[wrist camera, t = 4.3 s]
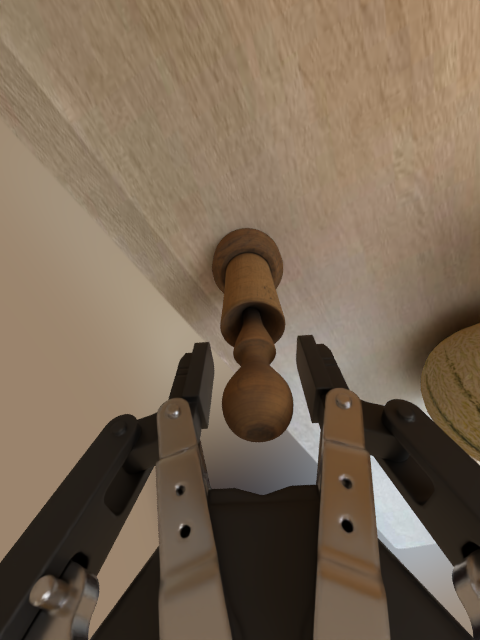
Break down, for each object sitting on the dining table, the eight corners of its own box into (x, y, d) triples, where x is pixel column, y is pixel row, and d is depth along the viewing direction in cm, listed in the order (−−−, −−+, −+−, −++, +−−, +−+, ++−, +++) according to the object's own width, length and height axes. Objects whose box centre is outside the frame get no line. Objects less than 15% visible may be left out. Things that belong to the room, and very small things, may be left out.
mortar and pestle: (293, 264, 24) (380, 437, 10) (245, 303, 27) (253, 489, 12) (248, 211, 22) (270, 336, 7) (199, 260, 24) (135, 431, 9)
